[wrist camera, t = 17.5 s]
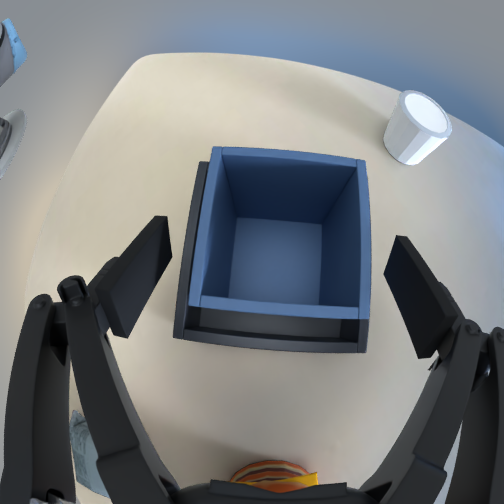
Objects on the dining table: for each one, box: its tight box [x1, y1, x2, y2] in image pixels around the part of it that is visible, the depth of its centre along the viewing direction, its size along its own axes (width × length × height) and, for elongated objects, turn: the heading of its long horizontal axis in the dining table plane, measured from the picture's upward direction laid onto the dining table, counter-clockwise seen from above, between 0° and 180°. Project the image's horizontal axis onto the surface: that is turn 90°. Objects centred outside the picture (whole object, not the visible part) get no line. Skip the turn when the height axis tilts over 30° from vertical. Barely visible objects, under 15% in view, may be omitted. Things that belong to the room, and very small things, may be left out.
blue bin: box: [188, 146, 371, 319], centre depth 19 cm, size 9×9×11 cm
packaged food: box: [69, 410, 110, 498], centre depth 18 cm, size 9×12×5 cm
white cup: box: [383, 90, 452, 165], centre depth 24 cm, size 7×7×7 cm
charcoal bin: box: [173, 161, 371, 353], centre depth 22 cm, size 14×14×6 cm
